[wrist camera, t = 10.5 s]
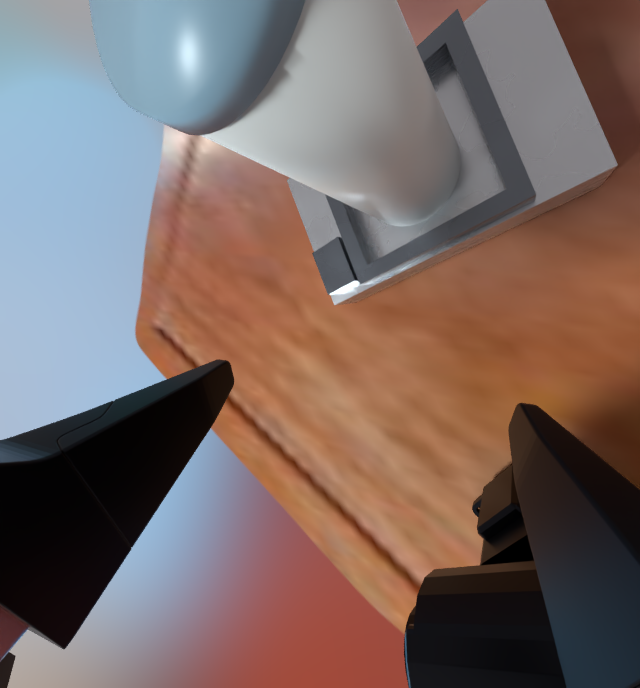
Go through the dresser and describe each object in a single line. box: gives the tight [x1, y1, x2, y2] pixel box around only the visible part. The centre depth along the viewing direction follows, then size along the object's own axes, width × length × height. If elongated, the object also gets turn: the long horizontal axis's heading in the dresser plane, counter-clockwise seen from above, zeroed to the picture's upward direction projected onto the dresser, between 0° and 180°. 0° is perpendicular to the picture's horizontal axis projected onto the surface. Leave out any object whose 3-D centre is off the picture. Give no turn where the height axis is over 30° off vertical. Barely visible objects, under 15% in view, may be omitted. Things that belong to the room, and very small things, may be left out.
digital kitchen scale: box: [287, 0, 618, 305], centre depth 17 cm, size 9×14×4 cm, turn 115°
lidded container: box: [89, 0, 461, 226], centre depth 10 cm, size 5×5×13 cm
